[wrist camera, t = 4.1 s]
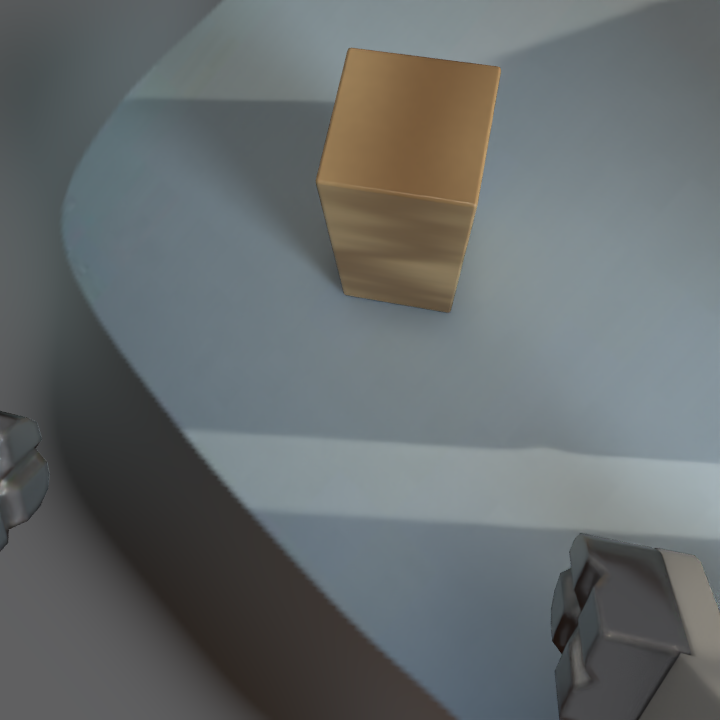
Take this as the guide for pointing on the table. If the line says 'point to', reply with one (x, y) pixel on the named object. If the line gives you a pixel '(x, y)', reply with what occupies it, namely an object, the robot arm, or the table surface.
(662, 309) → the table surface
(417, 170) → the peg
